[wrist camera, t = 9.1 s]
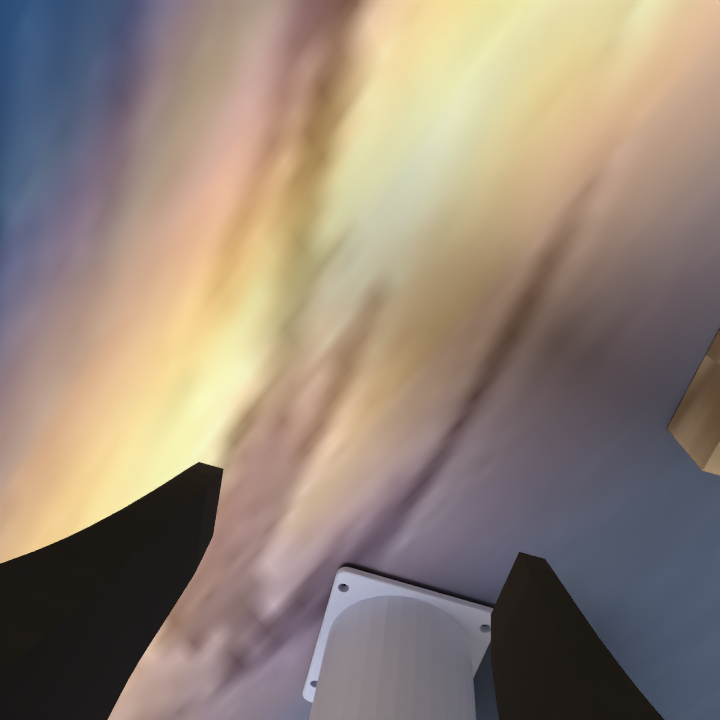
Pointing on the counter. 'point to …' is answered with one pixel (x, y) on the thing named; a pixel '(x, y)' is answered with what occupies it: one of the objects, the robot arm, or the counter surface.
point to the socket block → (701, 414)
